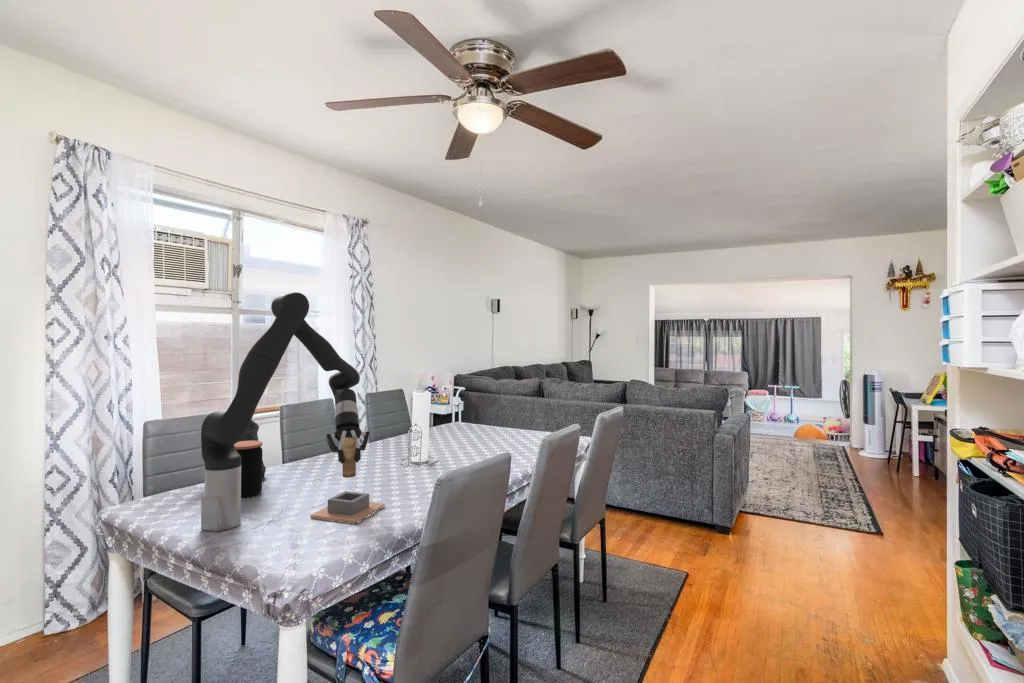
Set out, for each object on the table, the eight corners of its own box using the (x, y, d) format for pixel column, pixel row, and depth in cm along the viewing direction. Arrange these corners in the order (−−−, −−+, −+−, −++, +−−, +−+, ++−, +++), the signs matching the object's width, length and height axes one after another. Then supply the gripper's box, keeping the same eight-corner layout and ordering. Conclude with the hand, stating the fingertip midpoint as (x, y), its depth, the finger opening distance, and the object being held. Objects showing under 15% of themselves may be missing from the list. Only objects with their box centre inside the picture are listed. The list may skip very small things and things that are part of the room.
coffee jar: (268, 490, 177) (268, 440, 177) (249, 500, 167) (250, 447, 167) (240, 489, 178) (241, 440, 178) (220, 498, 168) (220, 446, 168)
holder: (355, 524, 146) (355, 507, 146) (310, 518, 150) (310, 501, 150) (384, 507, 161) (384, 491, 161) (342, 502, 166) (342, 487, 166)
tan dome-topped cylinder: (350, 478, 153) (351, 439, 153) (339, 477, 154) (340, 438, 154) (358, 474, 157) (358, 437, 157) (347, 473, 158) (347, 436, 158)
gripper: (324, 411, 160) (326, 457, 149) (369, 409, 165) (374, 453, 154) (323, 425, 165) (325, 470, 154) (367, 422, 170) (372, 465, 159)
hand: (349, 461), depth 154 cm, fingers closed on tan dome-topped cylinder, 4 cm apart
